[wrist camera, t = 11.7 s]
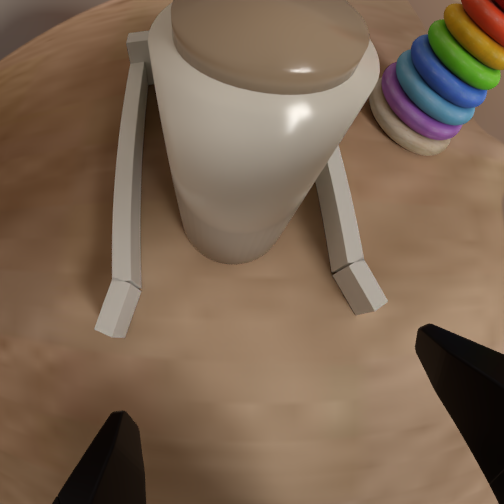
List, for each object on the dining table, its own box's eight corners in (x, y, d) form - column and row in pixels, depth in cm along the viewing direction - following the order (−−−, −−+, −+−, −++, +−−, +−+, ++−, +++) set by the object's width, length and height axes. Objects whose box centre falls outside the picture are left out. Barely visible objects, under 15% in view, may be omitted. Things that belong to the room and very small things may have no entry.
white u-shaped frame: (368, 313, 19) (409, 304, 14) (109, 338, 16) (79, 336, 12) (313, 72, 23) (329, 32, 19) (124, 77, 21) (113, 35, 17)
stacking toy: (380, 155, 22) (536, -41, 4) (354, 78, 24) (448, -99, 6) (454, 164, 23) (600, 31, 5) (426, 93, 25) (528, -43, 7)
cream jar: (257, 282, 18) (366, 141, 5) (163, 236, 18) (90, 42, 5) (297, 195, 20) (401, 14, 7) (211, 156, 20) (222, -49, 7)
